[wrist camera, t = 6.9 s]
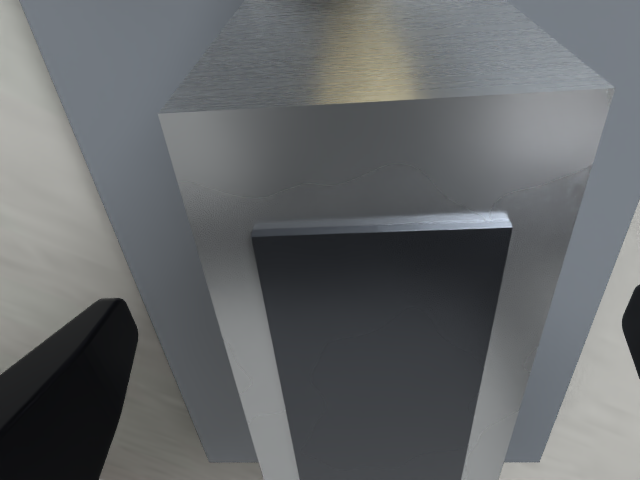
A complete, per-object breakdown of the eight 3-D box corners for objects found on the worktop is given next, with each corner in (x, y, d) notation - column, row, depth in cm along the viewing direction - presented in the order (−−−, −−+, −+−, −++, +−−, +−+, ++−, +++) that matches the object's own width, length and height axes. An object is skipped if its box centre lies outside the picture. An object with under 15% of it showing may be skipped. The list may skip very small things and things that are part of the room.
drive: (419, 356, 14) (460, 617, 9) (315, 358, 14) (300, 613, 9) (450, -45, 8) (621, 94, 3) (268, -30, 8) (152, 120, 3)
